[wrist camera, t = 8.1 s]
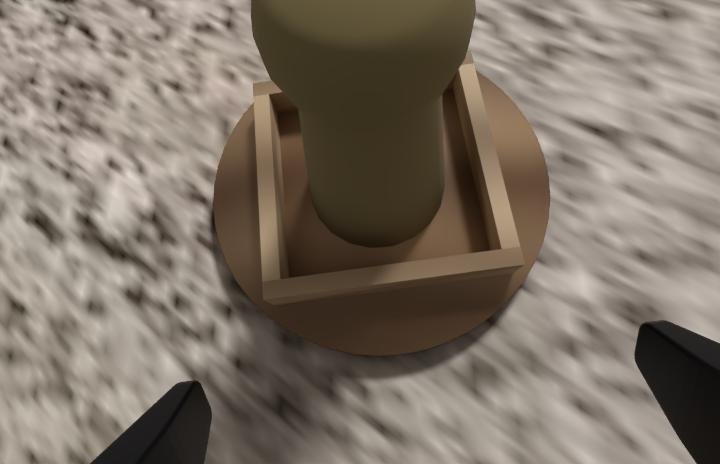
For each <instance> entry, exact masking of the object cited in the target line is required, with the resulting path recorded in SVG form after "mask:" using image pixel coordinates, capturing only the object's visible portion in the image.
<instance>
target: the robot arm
mask: <svg viewBox="0 0 720 464" xmlns="http://www.w3.org/2000/svg"><path fill="white" fill-rule="evenodd" d="M635 361H636V364H637V366H638V368H639V370H640V372H641V373H642V375H643V377H644V379H645V380H646V382H647V384H648V386H649V387H650V389H651V391H652V393H653V394H654V396H655V398H656V400H657V401H658V403H659V405H660V406H661V408H662V410H663V412H664V413H665V415H666V417H667V419H668V420H669V422H670V424H671V426H672V427H673V429H674V430H675V432H676V434H677V435H678V437H679V439H680V440H681V442H682V443H683V444H684V446H685V447H686V449H687V450H688V452H689V453H690V455H691V456H692V457H693V459H694V460H695V462H696V463H697V464H720V343H718V342H715V341H713V340H711V339H708V338H706V337H704V336H701V335H699V334H697V333H694V332H692V331H690V330H687V329H685V328H683V327H680V326H678V325H676V324H673V323H671V322H668V321H665V320H658V321H650V322H644V323H642V324H641V326H640V328H639V332H638V337H637V343H636V348H635ZM211 419H212V413H211V407H210V405H209V402H208V400H207V398H206V395H205V393H204V390H203V388H202V386H201V384H200V383H199V382H198V381H195V380H193V381H186V382H180V383H177V384H176V385H174V386H173V387H172V388H171V389H170V390H169V391H168V392H167V393H166V394H165V395H164V396H163V397H161V398H160V399H159V400H158V401H157V402H156V403H155V404H154V405H153V406H152V407H151V408H150V409H148V410H147V411H146V412H145V413H144V414H143V415H142V416H141V417H140V418H139V419H138V420H137V421H136V422H134V423H133V424H132V425H131V426H130V427H129V428H128V429H127V430H126V431H125V432H124V433H123V434H121V435H120V436H119V437H118V438H117V439H116V440H115V441H114V442H113V443H112V444H111V445H110V446H109V447H107V448H106V449H105V450H104V451H103V452H102V453H101V454H100V455H99V456H98V457H97V458H96V459H94V460H93V461H92V462H91V463H90V464H204V461H205V455H206V449H207V443H208V437H209V431H210V425H211Z"/></svg>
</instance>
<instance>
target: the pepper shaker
mask: <svg viewBox="0 0 720 464" xmlns="http://www.w3.org/2000/svg"><path fill="white" fill-rule="evenodd" d="M475 14H476V6H475V0H251V21H252V31H253V37H254V40H255V42H256V45H257V47H258V50H259V52H260V55H261V57H262V60H263V62H264V65H265V67H266V69H267V71H268V74H269V76H270V78H271V80H272V81H273V82H274V83H275V84H276V85H277V87H278V88H279V89H280V90H281V91H282V92H283V93H284V94H285V95H286V96H287V97H288V98H289V99H290V100H291V101H292V103H293V104H294V105H295V106H296V107H297V108H298V111H299V118H300V125H301V133H302V140H303V147H304V154H305V161H306V168H307V175H308V182H309V189H310V196H311V201H312V203H313V206H314V208H315V211H316V213H317V216H318V218H319V219H320V220H321V221H322V222H323V224H324V225H325V226H326V227H327V228H328V229H329V230H330V232H331V233H333V234H335V235H336V236H338V237H340V238H341V239H343V240H345V241H347V242H348V243H351V244H355V245H360V246H364V247H369V248H377V247H389V246H395V245H397V244H400V243H402V242H404V241H407V240H409V239H412V238H414V237H415V236H416V235H417V234H419V233H420V232H421V231H422V230H423V229H425V228H426V227H427V226H428V225H429V224H430V223H431V221H432V220H433V218H434V217H435V215H436V213H437V212H438V210H439V208H440V207H441V203H442V198H443V193H444V188H445V178H444V142H443V105H442V94H443V92H444V91H445V89H446V88H447V86H448V85H449V83H450V81H451V80H452V78H453V77H454V75H455V74H456V72H457V71H458V69H459V68H460V66H461V64H462V63H463V61H464V60H465V57H466V53H467V49H468V46H469V42H470V37H471V32H472V28H473V23H474V18H475Z"/></svg>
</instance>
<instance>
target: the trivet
mask: <svg viewBox="0 0 720 464" xmlns="http://www.w3.org/2000/svg"><path fill="white" fill-rule="evenodd" d="M253 95H254V103H253V104H252V105H251V106H250V107H249V108H248V110H247V111H246V112H245V113H244V114H243V116H242V117H241V119H240V120H239V122H238V124H237V125H236V127H235V128H234V130H233V131H232V133H231V135H230V137H229V140H228V142H227V144H226V146H225V148H224V151H223V154H222V157H221V159H220V162H219V165H218V170H217V175H216V180H215V185H214V202H213V207H214V219H215V227H216V232H217V236H218V240H219V245H220V247H221V250H222V253H223V255H224V258H225V260H226V263H227V265H228V267H229V269H230V270H231V272H232V274H233V276H234V278H235V279H236V281H237V283H238V284H239V285H240V287H241V288H242V289H243V291H244V292H245V293H246V295H247V296H248V297H249V298H250V300H251V301H252V302H253V303H254V304H255V305H256V306H257V307H258V308H259V309H261V310H262V311H263V312H264V313H265V314H266V315H267V316H268V317H269V318H271V319H272V320H274V321H275V322H276V323H278V324H279V325H280V326H282V327H283V328H284V329H286V330H288V331H290V332H292V333H294V334H296V335H297V336H299V337H301V338H303V339H305V340H307V341H310V342H313V343H315V344H318V345H321V346H324V347H326V348H329V349H332V350H337V351H342V352H346V353H351V354H357V355H370V356H388V355H403V354H408V353H413V352H418V351H423V350H427V349H429V348H432V347H435V346H438V345H441V344H444V343H447V342H449V341H451V340H453V339H455V338H457V337H459V336H461V335H463V334H465V333H467V332H469V331H470V330H472V329H474V328H475V327H477V326H478V325H479V324H481V323H482V322H484V321H485V320H487V319H488V318H489V317H491V316H492V315H493V314H494V313H495V312H497V311H498V310H499V309H500V308H501V307H502V306H503V305H504V304H505V303H506V302H507V301H508V300H509V299H510V298H511V297H512V295H513V294H514V293H515V292H516V290H517V289H518V288H519V287H520V285H521V284H522V283H523V282H524V280H525V278H526V277H527V275H528V273H529V272H530V270H531V268H532V266H533V265H534V263H535V261H536V259H537V256H538V254H539V251H540V248H541V246H542V243H543V241H544V237H545V232H546V228H547V224H548V219H549V207H550V189H549V176H548V172H547V167H546V163H545V158H544V155H543V152H542V150H541V147H540V144H539V142H538V139H537V137H536V135H535V133H534V131H533V130H532V128H531V126H530V124H529V122H528V120H527V119H526V118H525V116H524V115H523V114H522V112H521V111H520V110H519V108H518V107H517V105H516V104H515V103H514V102H513V101H512V100H511V99H510V98H509V97H508V96H507V95H506V94H505V93H504V92H503V91H502V90H501V89H500V88H499V87H498V86H496V85H495V84H494V83H493V82H492V81H490V80H489V79H488V78H487V77H485V76H483V75H482V74H480V73H479V72H477V71H476V70H475V66H474V62H473V58H472V54H471V51H467V53H466V57H465V60H464V61H463V63H462V64H461V66H460V68H459V69H458V71H457V72H456V74H455V75H454V77H453V78H452V80H451V81H450V83H449V85H448V86H447V88H446V89H445V91H444V92H443V94H442V105H443V142H444V178H445V188H444V193H443V198H442V203H441V207H440V208H439V210H438V212H437V213H436V215H435V217H434V218H433V220H432V221H431V223H430V224H429V225H428V226H427V227H426V228H425V229H423V230H422V231H421V232H420V233H419V234H417V235H416V236H415V237H414V238H412V239H409V240H407V241H404V242H402V243H400V244H397V245H395V246H389V247H377V248H369V247H364V246H360V245H355V244H351V243H348V242H347V241H345V240H343V239H341V238H340V237H338V236H336V235H335V234H333V233H331V232H330V230H329V229H328V228H327V227H326V226H325V225H324V224H323V222H322V221H321V220H320V219H319V218H318V216H317V213H316V211H315V208H314V206H313V203H312V201H311V196H310V189H309V182H308V175H307V168H306V161H305V154H304V147H303V140H302V133H301V125H300V118H299V111H298V108H297V107H296V106H295V105H294V104H293V103H292V101H291V100H290V99H289V98H288V97H287V96H286V95H285V94H284V93H283V92H282V91H281V90H280V89H279V88H278V87H277V85H276V84H275V83H274V82H273V81H266V82H260V83H253Z"/></svg>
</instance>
